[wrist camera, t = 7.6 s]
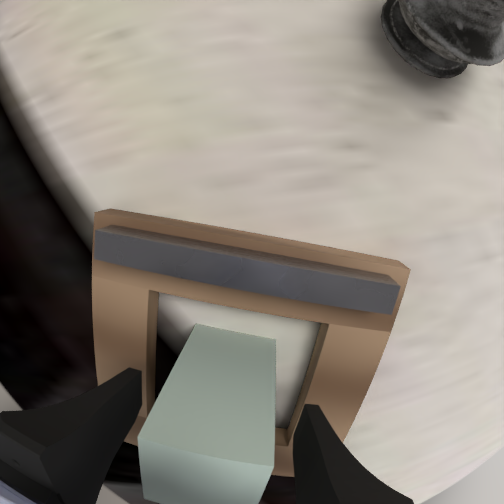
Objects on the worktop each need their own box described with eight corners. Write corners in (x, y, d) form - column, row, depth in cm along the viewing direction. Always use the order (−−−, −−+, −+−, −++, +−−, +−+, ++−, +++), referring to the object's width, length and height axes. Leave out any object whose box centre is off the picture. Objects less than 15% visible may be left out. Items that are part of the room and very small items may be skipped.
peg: (260, 399, 16) (249, 521, 8) (189, 385, 16) (144, 498, 9) (276, 339, 15) (274, 466, 7) (196, 323, 15) (137, 436, 8)
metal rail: (380, 301, 13) (391, 314, 11) (110, 250, 13) (94, 258, 12) (388, 274, 13) (400, 286, 11) (112, 224, 13) (95, 230, 11)
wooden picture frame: (320, 461, 17) (322, 478, 16) (114, 420, 18) (105, 434, 16) (398, 260, 14) (410, 269, 12) (110, 208, 14) (94, 212, 13)
